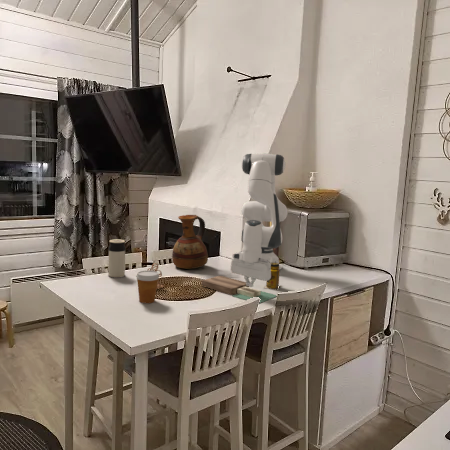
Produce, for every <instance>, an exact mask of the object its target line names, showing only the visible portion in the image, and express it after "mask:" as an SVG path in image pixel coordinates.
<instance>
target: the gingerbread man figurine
mask: <svg viewBox="0 0 450 450" xmlns="http://www.w3.org/2000/svg"><path fill="white" fill-rule="evenodd" d="M146 271H156V272H159V273H158V274H159V278H162V276H163V273H162V271H161V270H160V269H159V264H158V263H156V262H155V263H152V264H151V266H150V267H148V268H147V270H146ZM160 287H164V288H165V285H162V284H161V283H160V280H159V279H158V283H157V288H160Z"/></svg>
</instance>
